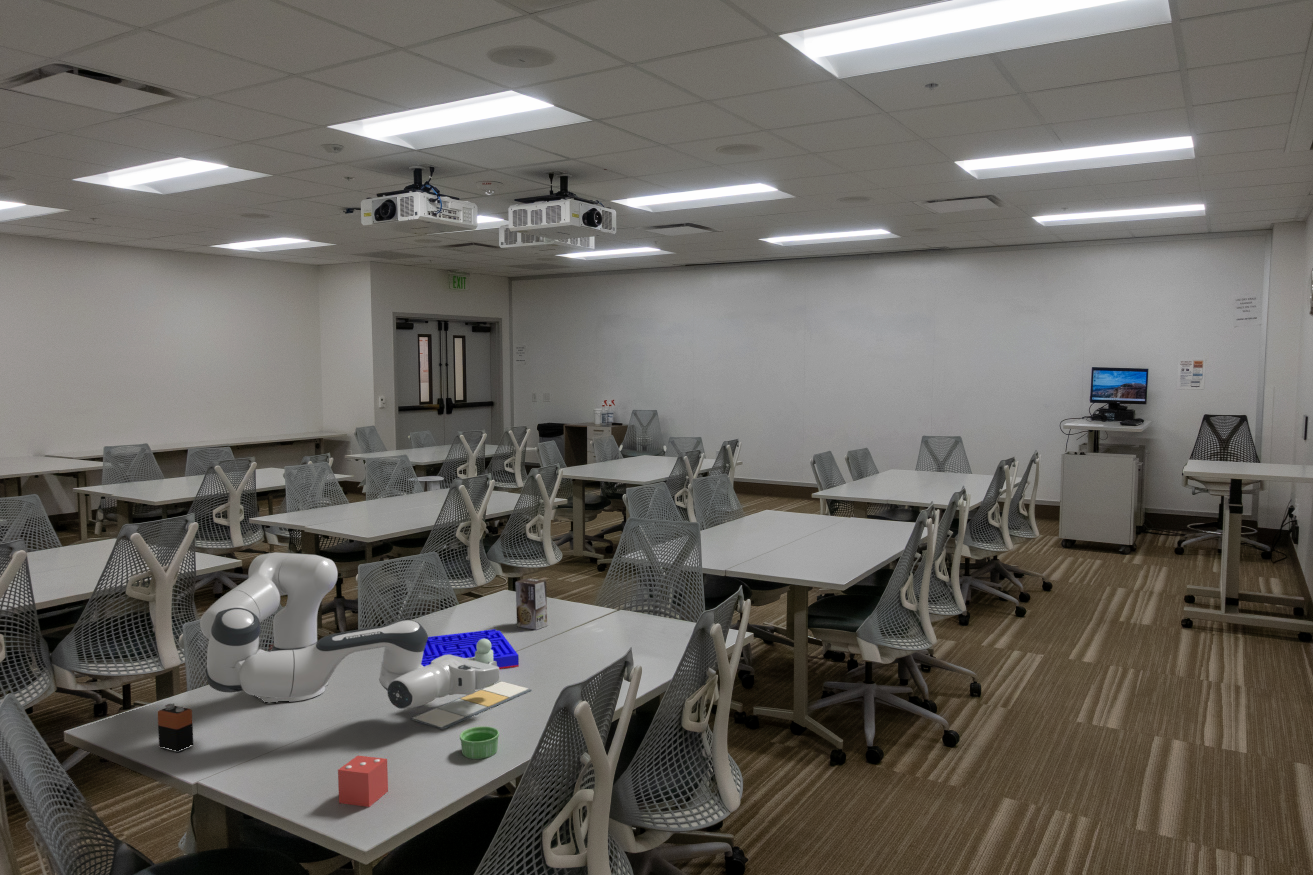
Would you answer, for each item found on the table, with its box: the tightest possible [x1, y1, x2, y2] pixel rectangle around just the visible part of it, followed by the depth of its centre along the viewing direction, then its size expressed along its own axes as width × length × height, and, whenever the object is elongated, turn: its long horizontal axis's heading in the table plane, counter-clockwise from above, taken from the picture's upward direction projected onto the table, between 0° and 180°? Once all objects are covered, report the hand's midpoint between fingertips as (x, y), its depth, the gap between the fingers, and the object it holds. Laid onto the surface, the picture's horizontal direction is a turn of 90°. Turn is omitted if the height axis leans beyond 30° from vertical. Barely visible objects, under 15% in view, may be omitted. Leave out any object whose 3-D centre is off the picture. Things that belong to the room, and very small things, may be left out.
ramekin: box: [459, 725, 500, 760], centre depth 203 cm, size 9×9×4 cm
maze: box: [421, 629, 520, 670], centre depth 271 cm, size 30×30×4 cm
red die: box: [337, 755, 389, 808], centre depth 181 cm, size 7×7×7 cm
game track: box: [410, 681, 532, 730], centre depth 232 cm, size 12×32×1 cm, turn 145°
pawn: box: [475, 639, 495, 688], centre depth 235 cm, size 5×5×12 cm
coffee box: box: [515, 577, 548, 631], centre depth 305 cm, size 9×6×16 cm
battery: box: [157, 703, 194, 751], centre depth 207 cm, size 4×7×10 cm, turn 66°
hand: (486, 661), depth 236 cm, fingers closed on pawn, 5 cm apart
